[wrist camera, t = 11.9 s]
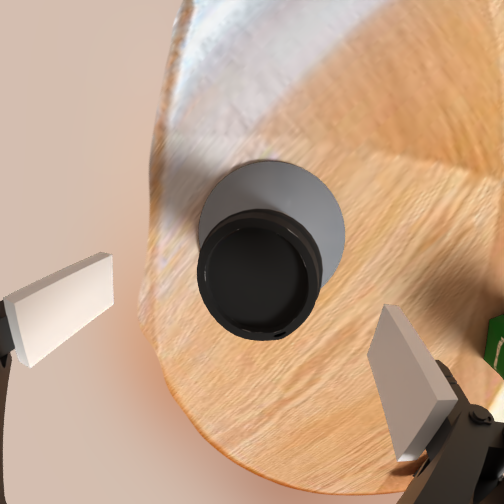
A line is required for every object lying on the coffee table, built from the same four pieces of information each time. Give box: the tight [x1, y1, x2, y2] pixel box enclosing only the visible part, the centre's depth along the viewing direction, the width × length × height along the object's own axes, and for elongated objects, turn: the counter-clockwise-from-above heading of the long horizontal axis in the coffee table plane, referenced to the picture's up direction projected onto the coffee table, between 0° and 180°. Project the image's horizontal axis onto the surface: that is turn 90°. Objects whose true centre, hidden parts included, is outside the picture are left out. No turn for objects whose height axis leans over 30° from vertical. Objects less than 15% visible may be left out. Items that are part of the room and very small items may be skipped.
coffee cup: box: [197, 209, 323, 341], centre depth 25 cm, size 8×8×15 cm
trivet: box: [199, 161, 345, 288], centre depth 32 cm, size 16×16×1 cm
